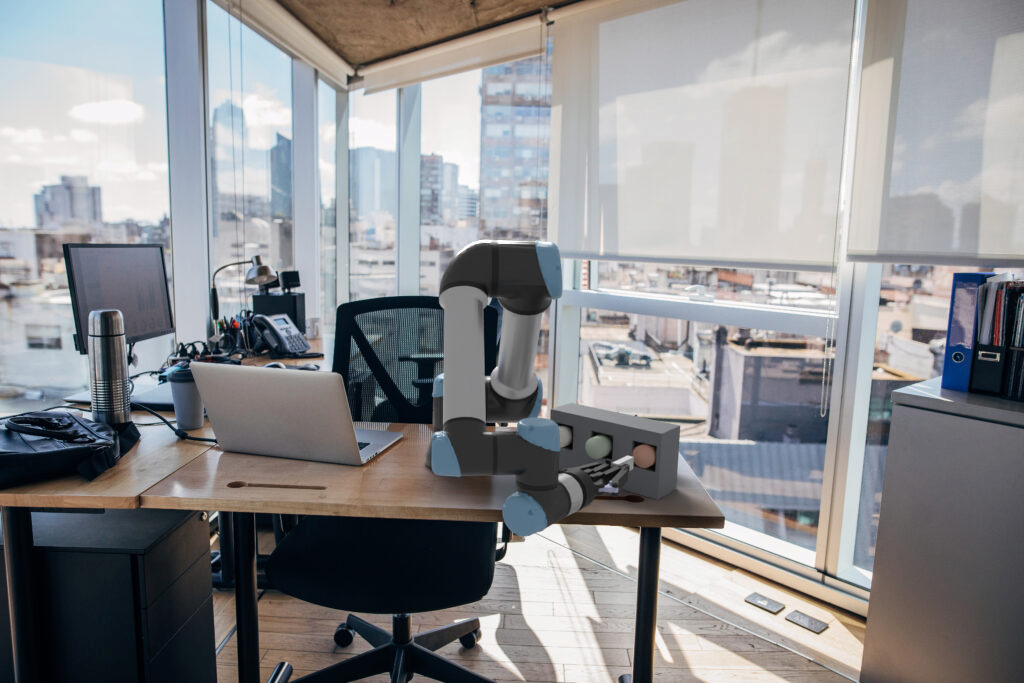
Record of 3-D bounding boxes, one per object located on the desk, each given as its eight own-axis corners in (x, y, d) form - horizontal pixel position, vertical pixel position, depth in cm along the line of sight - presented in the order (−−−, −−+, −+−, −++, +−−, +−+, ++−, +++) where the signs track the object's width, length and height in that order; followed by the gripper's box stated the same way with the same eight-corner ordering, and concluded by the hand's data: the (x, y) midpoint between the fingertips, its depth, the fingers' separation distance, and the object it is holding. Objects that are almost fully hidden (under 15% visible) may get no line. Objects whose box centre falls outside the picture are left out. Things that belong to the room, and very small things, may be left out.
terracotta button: (651, 470, 143) (653, 448, 142) (631, 465, 146) (632, 443, 145) (660, 466, 146) (661, 444, 145) (640, 460, 149) (641, 439, 148)
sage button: (603, 461, 148) (604, 440, 147) (584, 456, 151) (585, 435, 150) (612, 457, 151) (613, 436, 150) (594, 452, 154) (595, 432, 154)
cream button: (563, 450, 155) (564, 430, 154) (547, 446, 158) (547, 426, 157) (573, 447, 158) (574, 427, 157) (556, 442, 161) (557, 423, 160)
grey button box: (657, 499, 143) (661, 433, 141) (548, 467, 162) (550, 409, 160) (676, 488, 150) (680, 425, 148) (569, 459, 169) (571, 402, 167)
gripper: (539, 502, 126) (603, 471, 144) (596, 521, 118) (657, 486, 136) (540, 465, 125) (604, 439, 143) (598, 482, 117) (659, 451, 135)
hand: (630, 462), depth 140 cm, fingers closed
